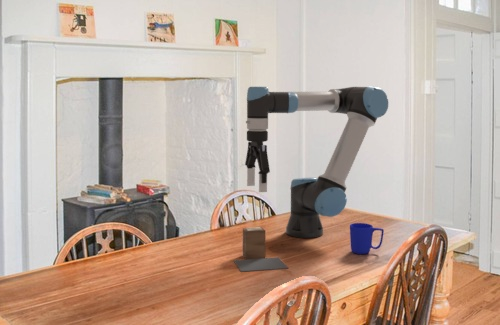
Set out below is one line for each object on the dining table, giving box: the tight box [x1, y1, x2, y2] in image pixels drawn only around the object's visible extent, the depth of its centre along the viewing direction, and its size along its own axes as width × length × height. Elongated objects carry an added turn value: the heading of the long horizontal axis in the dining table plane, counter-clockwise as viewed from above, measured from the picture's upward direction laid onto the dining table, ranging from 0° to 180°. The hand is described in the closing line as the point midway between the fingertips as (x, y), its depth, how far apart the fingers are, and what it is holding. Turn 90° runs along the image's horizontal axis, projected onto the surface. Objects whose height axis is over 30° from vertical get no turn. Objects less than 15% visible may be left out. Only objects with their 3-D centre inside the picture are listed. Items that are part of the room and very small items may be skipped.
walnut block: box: [242, 226, 266, 260], centre depth 203 cm, size 5×7×10 cm
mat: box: [233, 256, 289, 273], centre depth 195 cm, size 12×16×1 cm
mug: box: [349, 222, 384, 255], centre depth 209 cm, size 8×12×10 cm
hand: (256, 188), depth 208 cm, fingers open, 13 cm apart
